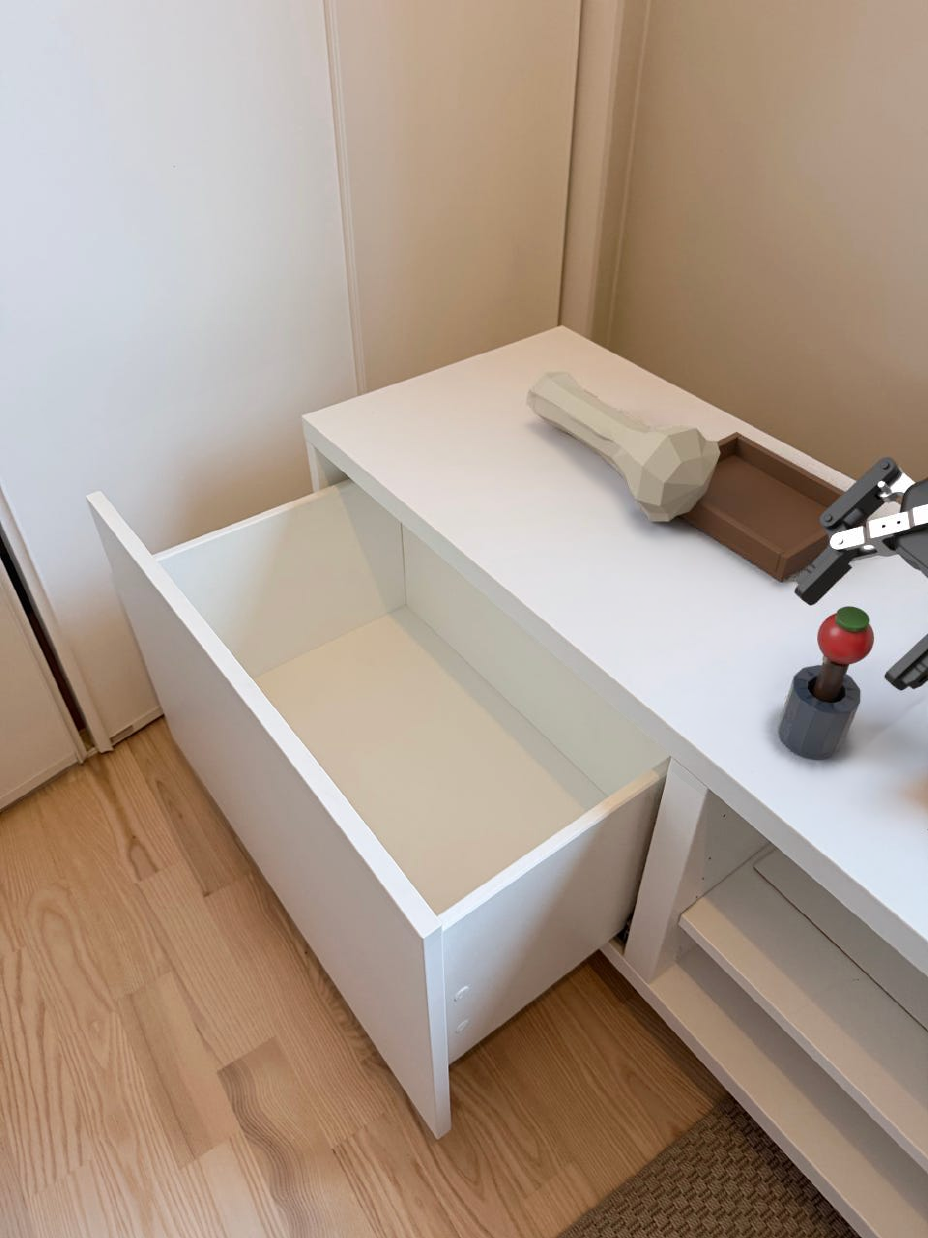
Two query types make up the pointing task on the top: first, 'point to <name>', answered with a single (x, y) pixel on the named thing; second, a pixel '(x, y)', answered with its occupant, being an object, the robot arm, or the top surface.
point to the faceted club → (631, 446)
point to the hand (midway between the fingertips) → (845, 640)
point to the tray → (764, 507)
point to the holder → (817, 716)
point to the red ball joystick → (841, 649)
